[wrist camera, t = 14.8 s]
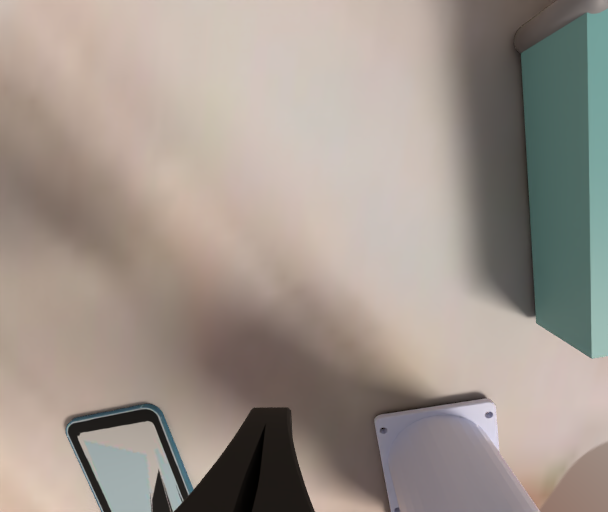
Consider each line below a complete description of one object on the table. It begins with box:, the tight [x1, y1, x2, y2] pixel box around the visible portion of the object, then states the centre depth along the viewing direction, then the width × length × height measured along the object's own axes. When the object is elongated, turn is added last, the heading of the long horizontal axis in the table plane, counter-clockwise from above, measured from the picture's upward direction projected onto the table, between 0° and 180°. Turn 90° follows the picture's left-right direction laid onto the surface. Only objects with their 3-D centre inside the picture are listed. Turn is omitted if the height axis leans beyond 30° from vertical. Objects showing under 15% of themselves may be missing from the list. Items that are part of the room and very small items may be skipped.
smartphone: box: [66, 404, 193, 512], centre depth 24 cm, size 7×1×15 cm
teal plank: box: [514, 0, 608, 359], centre depth 16 cm, size 17×1×4 cm, turn 12°
